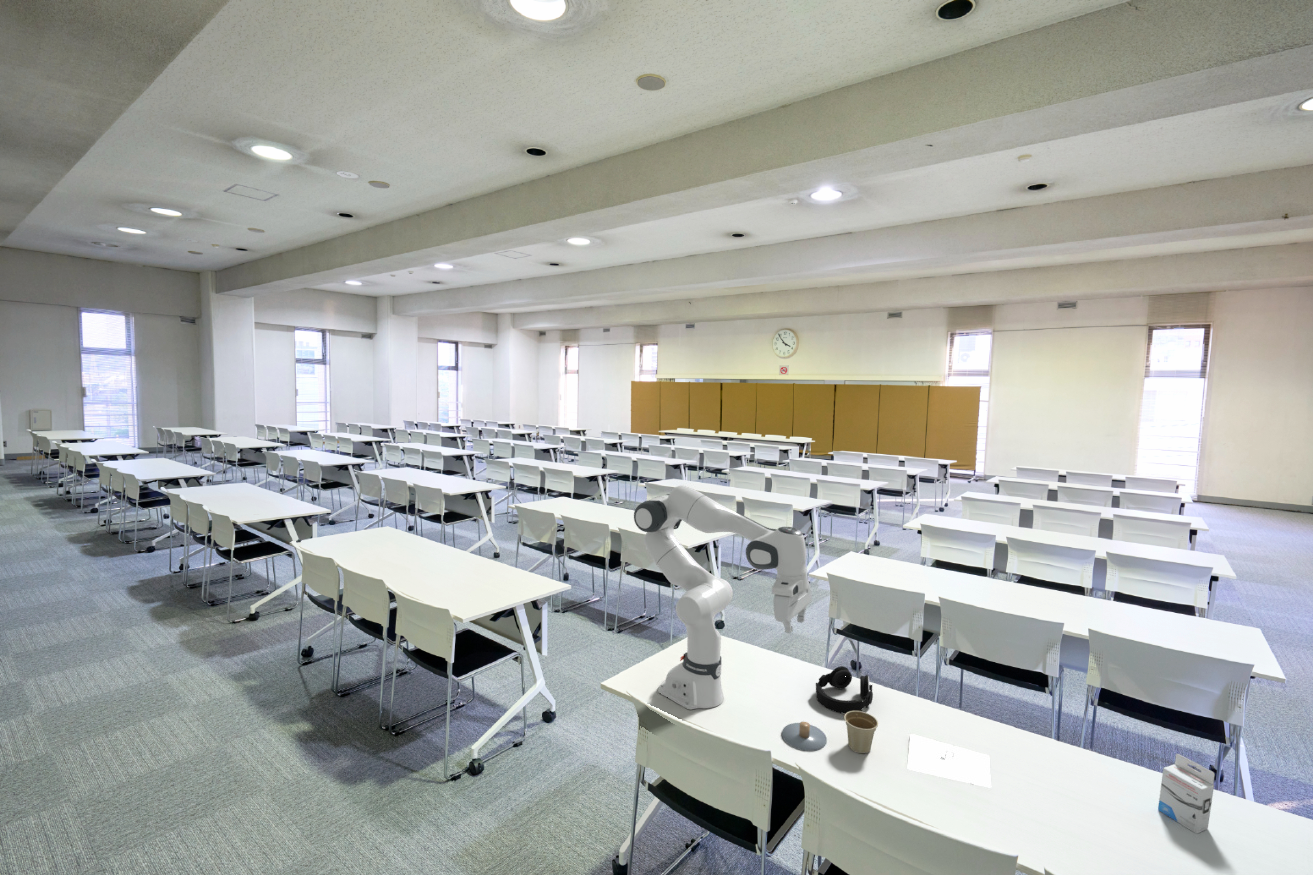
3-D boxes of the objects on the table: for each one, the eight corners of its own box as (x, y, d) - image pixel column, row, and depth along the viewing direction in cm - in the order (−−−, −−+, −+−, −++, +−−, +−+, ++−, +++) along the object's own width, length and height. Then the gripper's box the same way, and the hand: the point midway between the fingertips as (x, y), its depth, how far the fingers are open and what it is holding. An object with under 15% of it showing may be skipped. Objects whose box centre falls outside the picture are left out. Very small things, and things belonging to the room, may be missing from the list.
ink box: (1156, 809, 152) (1163, 755, 150) (1168, 805, 154) (1175, 751, 152) (1196, 834, 144) (1203, 777, 142) (1209, 829, 146) (1216, 772, 144)
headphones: (882, 674, 202) (858, 704, 187) (882, 695, 203) (858, 726, 189) (832, 657, 214) (806, 685, 199) (832, 677, 215) (806, 706, 200)
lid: (775, 741, 178) (775, 726, 178) (791, 720, 189) (792, 707, 188) (817, 757, 171) (818, 743, 170) (832, 735, 181) (833, 721, 181)
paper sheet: (999, 761, 170) (999, 757, 170) (991, 828, 146) (992, 824, 146) (911, 732, 183) (911, 729, 183) (891, 790, 159) (891, 786, 159)
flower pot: (878, 759, 170) (880, 731, 169) (844, 754, 172) (846, 726, 171) (873, 740, 179) (875, 712, 178) (841, 735, 181) (842, 708, 180)
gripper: (795, 571, 189) (798, 614, 189) (768, 590, 172) (771, 636, 173) (815, 573, 185) (817, 617, 186) (789, 592, 168) (792, 640, 169)
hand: (795, 626), depth 179 cm, fingers open, 8 cm apart
